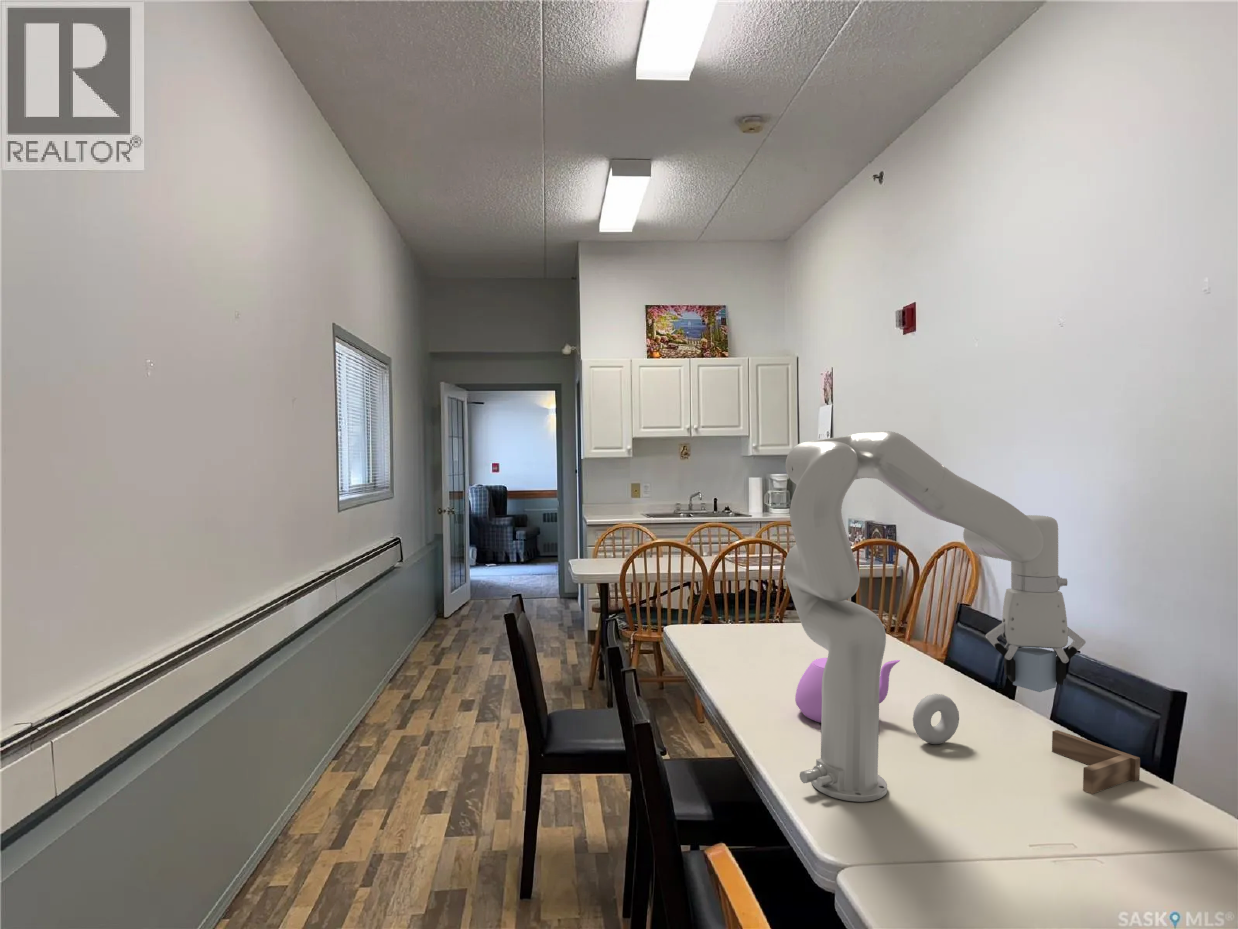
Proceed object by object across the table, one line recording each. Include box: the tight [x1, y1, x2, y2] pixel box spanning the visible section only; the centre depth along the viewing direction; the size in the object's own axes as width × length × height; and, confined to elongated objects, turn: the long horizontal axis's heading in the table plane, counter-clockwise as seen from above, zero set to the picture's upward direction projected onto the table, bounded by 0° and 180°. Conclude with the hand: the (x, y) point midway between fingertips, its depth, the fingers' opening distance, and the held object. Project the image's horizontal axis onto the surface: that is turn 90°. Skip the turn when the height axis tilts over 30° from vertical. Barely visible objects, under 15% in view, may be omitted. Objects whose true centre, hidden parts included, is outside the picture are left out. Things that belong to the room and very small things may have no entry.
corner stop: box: [1051, 729, 1141, 795], centre depth 139 cm, size 14×15×4 cm
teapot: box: [794, 657, 901, 723], centre depth 165 cm, size 22×22×14 cm
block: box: [1012, 647, 1057, 693], centre depth 138 cm, size 5×5×6 cm
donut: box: [912, 693, 960, 745], centre depth 151 cm, size 10×3×10 cm, turn 105°
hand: (1034, 680), depth 138 cm, fingers closed on block, 7 cm apart
